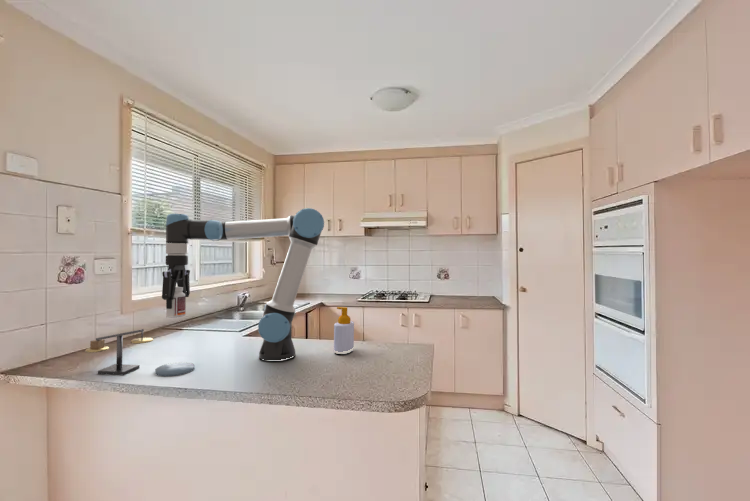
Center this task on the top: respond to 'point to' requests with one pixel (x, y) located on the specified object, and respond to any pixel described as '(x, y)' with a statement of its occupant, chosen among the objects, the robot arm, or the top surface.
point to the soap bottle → (343, 332)
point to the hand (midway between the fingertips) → (176, 315)
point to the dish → (174, 369)
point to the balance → (118, 367)
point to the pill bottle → (179, 302)
